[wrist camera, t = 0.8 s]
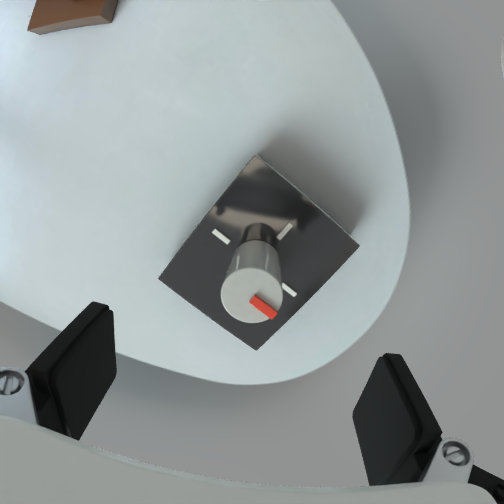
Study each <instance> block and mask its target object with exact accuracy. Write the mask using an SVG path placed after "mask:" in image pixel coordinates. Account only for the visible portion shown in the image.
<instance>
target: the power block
mask: <svg viewBox="0 0 504 504" xmlns="http://www.w3.org/2000/svg"><path fill="white" fill-rule="evenodd" d="M117 2H118V0H37V1H36V4H35V7H34V10H33V13H32V16H31V19H30V22H29V26H28V29H27V30H28V31H31V32H33V33H36V34H39V35H40V34H45V33H50V32H54V31H59V30H65V29H70V28H76V27H83V26H90V25H97V24H106V23H111V22H112V19H113V15H114V12H115V8H116V5H117Z"/></svg>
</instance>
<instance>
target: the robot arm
mask: <svg viewBox="0 0 504 504" xmlns="http://www.w3.org/2000/svg"><path fill="white" fill-rule="evenodd" d="M116 370H117V368H116V356H115V339H114V317H113V311H112V310H109V306H108V305H105V304H101V303H98V302H91V303H90V304H89V305H88V306H87V307H86V308H85V309H84V310H83V311H82V312H81V313H80V314H79V315H78V316H77V317H76V318H75V319H74V320H73V321H72V322H71V323H70V324H69V325H68V326H67V327H66V328H65V329H64V330H63V331H62V332H61V333H60V334H59V335H58V336H57V337H56V338H55V340H54V341H53V342H52V343H51V344H50V345H49V346H48V347H47V348H46V349H45V350H44V351H43V352H42V353H41V354H40V355H39V356H38V358H37V359H36V360H35V361H34V362H33V363H32V364H31V365H30V366H29V367H28V369H27V370H26V371H25V372H24V371H23V370H21V369H20V368H16V367H13V366H11V367H10V366H6V367H2V368H0V504H504V480H502V479H500V478H498V477H496V476H494V475H492V474H490V473H489V472H486V471H485V470H483V469H480V468H479V467H477V466H475V465H473V462H474V454H473V451H472V449H471V448H470V447H469V445H468V444H467V443H465V442H463V441H462V440H460V439H457V438H446V439H444V440H442V438H441V434H442V430H441V428H440V426H439V425H438V422H437V421H436V419H435V417H434V415H433V413H432V411H431V409H430V407H429V405H428V403H427V401H426V399H425V397H424V395H423V394H422V392H421V390H420V388H419V386H418V384H417V383H416V381H415V379H414V377H413V375H412V373H411V372H410V370H409V368H408V366H407V364H406V363H405V361H404V359H403V357H402V356H401V355H400V354H391V353H386V354H384V355H383V357H379V358H378V360H377V362H376V364H375V367H374V369H373V371H372V373H371V375H370V378H369V380H368V382H367V384H366V386H365V388H364V390H363V392H362V394H361V396H360V398H359V400H358V402H357V404H356V406H355V408H354V410H353V421H354V425H355V429H356V433H357V437H358V441H359V444H360V449H361V453H362V457H363V461H364V465H365V469H366V473H367V477H368V482H369V486H361V487H294V486H278V485H266V484H265V485H264V484H255V483H247V482H239V481H232V480H225V479H219V478H212V477H207V476H201V475H196V474H191V473H186V472H182V471H177V470H173V469H168V468H164V467H160V466H156V465H152V464H149V463H145V462H141V461H138V460H134V459H131V458H128V457H124V456H121V455H118V454H115V453H112V452H109V451H106V450H103V449H100V448H97V447H94V446H92V445H89V444H86V443H83V442H80V441H79V440H80V438H81V436H82V434H83V432H84V431H85V429H86V427H87V425H88V424H89V422H90V420H91V418H92V417H93V415H94V413H95V411H96V409H97V408H98V406H99V405H100V403H101V401H102V399H103V398H104V396H105V394H106V393H107V390H108V389H109V388H110V386H111V384H112V382H113V381H114V379H115V377H116V372H117V371H116Z"/></svg>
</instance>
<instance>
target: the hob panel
mask: <svg viewBox="0 0 504 504" xmlns="http://www.w3.org/2000/svg"><path fill="white" fill-rule="evenodd" d="M253 240H258V241H263V242H266V243H268V244H270V245H271V246H272V247H273V248H274V249H275V250H276V251H277V253H278V255H279V257H280V262H281V275H282V288H283V301H282V304H281V306H280V308H279V310H278V314H277V315H276V316H275V317H274V318H273V319H270V318H269V319H268V320H265V321H263V322H259V323H246V322H242V321H240V320H237V319H236V318H234V317H233V316H231V315H230V314H229V313H228V312H227V311H226V309H225V308H224V306H223V303H222V300H221V288H222V285H223V282H224V279H225V276H226V273H227V270H228V267H229V264H230V261H231V258H232V256H233V253H234V252H235V250H236V249H237V248H238V247H239V246H240V245H241V244H243V243H245V242H248V241H253ZM359 246H360V245H359V244H358V243H357V242H356V241H355V240H354V238H353V237H352V236H351V235H350V234H349V233H348V232H347V231H346V230H345V229H344V228H342V227H341V226H340V225H339V224H338V223H337V222H336V221H335V220H334V219H332V218H331V217H330V216H329V215H328V214H327V213H326V212H325V211H324V210H322V209H321V208H320V207H319V206H318V205H317V204H316V203H314V202H313V201H312V200H311V199H310V198H309V197H308V196H306V195H305V194H304V193H303V192H302V191H301V190H299V189H298V188H297V187H296V186H295V185H294V184H292V183H291V182H290V181H289V180H288V179H286V178H285V177H284V176H283V175H282V174H281V173H279V172H278V171H277V170H276V169H274V168H273V167H272V166H271V165H270V164H268V163H267V162H266V161H265V160H263V159H262V158H261V157H260V156H259V155H255V156H254V157H253V158H252V159H251V160H250V162H249V163H248V164H247V165H246V166H245V168H244V169H243V170H242V171H241V172H240V174H239V175H238V176H237V177H236V179H235V180H234V181H233V182H232V183H231V185H230V186H229V187H228V188H227V190H226V191H225V192H224V193H223V195H222V196H221V197H220V198H219V200H218V201H217V202H216V203H215V205H214V206H213V207H212V208H211V210H210V211H209V212H208V213H207V215H206V216H205V217H204V219H203V220H202V221H201V222H200V224H199V225H198V226H197V228H196V229H195V230H194V231H193V233H192V234H191V235H190V237H189V238H188V239H187V241H186V242H185V243H184V245H183V246H182V247H181V248H180V250H179V251H178V252H177V254H176V255H175V256H174V258H173V259H172V260H171V262H170V263H169V264H168V266H167V267H166V268H165V270H164V271H163V273H162V274H161V275H160V277H159V278H158V279H159V280H160V281H162V282H163V283H164V284H165V285H167V286H168V287H169V288H171V289H172V290H173V291H174V292H176V293H177V294H178V295H180V296H181V297H182V298H184V299H185V300H186V301H188V302H189V303H190V304H192V305H193V306H194V307H196V308H197V309H198V310H200V311H201V312H202V313H204V314H205V315H206V316H208V317H209V318H211V319H212V320H213V321H215V322H216V323H217V324H219V325H220V326H222V327H223V328H224V329H226V330H227V331H229V332H230V333H231V334H233V335H234V336H236V337H237V338H239V339H240V340H241V341H243V342H244V343H246V344H247V345H249V346H250V347H252V348H253V349H254V350H258V349H259V348H260V347H261V346H262V345H263V344H264V343H265V342H266V341H267V340H268V339H269V338H270V337H271V336H272V335H273V334H274V333H275V332H276V331H278V330H279V329H280V328H281V327H282V326H283V325H284V324H285V323H286V322H287V321H288V320H289V319H290V318H291V317H292V316H293V315H294V314H295V313H296V312H297V311H298V310H299V309H300V308H301V307H302V306H303V305H304V304H305V303H306V302H307V301H308V300H309V299H310V298H311V297H312V296H313V295H314V294H315V293H316V292H317V291H318V290H319V289H320V288H321V287H322V286H323V285H324V284H325V283H326V281H327V280H328V279H329V278H330V277H331V276H332V275H333V274H334V273H335V272H336V271H337V270H338V269H339V268H340V267H341V266H342V265H343V264H344V263H345V262H346V260H347V259H348V258H349V257H350V256H351V255H352V254H353V253H354V252H355V251H356V250H357V249H358V247H359Z"/></svg>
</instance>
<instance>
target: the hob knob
mask: <svg viewBox="0 0 504 504" xmlns="http://www.w3.org/2000/svg"><path fill="white" fill-rule="evenodd" d="M221 300H222V303H223V306H224V308H225V309H226V311H227V312H228V313H229V314H230V315H231V316H233V317H234V318H236V319H237V320H240V321H242V322H246V323H259V322H263V321H265V320H268V319H269V318H270V319H273V318H274V317H275V316H276V315H277V314H278V310H279V308H280V306H281V304H282V301H283V288H282V275H281V262H280V257H279V255H278V253H277V251H276V250H275V249H274V248H273V247H272V246H271V245H270V244H268V243H266V242H263V241H258V240H253V241H248V242H245V243H243V244H241V245H240V246H239V247H238V248H237V249H236V250H235V252H234V253H233V256H232V258H231V261H230V264H229V267H228V270H227V273H226V276H225V279H224V282H223V285H222V288H221Z"/></svg>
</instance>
